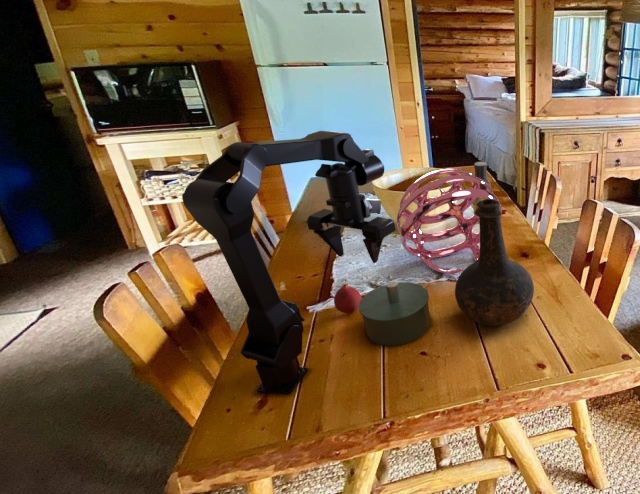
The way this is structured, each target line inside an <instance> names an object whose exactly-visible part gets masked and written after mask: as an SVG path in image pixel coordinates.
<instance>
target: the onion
mask: <svg viewBox="0 0 640 494" xmlns="http://www.w3.org/2000/svg"><path fill="white" fill-rule="evenodd" d="M362 298H363V296H362V295H361V292H360V291H359V290H358V289H357V288H355V287H353V286H349V283H347V282H345V283H343V284H342V285H341V287H340V288H339V289H338V290H337V291H336V292H335V294H334V297H333V304H334V306H335V309H336V310H338V311H339V312H340V313H343V314H350V315H351V314H354V313H355V312H356V311H357V310H359V303H360V301H361V299H362Z"/></svg>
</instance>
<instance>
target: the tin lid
mask: <svg viewBox="0 0 640 494" xmlns="http://www.w3.org/2000/svg"><path fill="white" fill-rule="evenodd" d="M429 300H430V292H429V291H428V289H427V288H426V287H425V286H423V285H421V284H419V283H415V282H409V281H399V282H397V281H396V280H395V281H394V280H393V281H388V282H386V284H383V285H381V286H378V287H376V288H374V289H372V290H370V291H369V292H367V293H366V294H365V295H364V296H362V299H361V301H360V303H359V308H358V311H359V313H360V315H361V316H362V318H363V317H365V318H366V319H369V320H372V321H376V322H392V321H398V320H402V319H405V318H408V317H411V316H413V315H415V314H416V313H418V312H419V311H421V310H422V309H423V308H424V307H425V306H426V305H427V303H428V304H429Z"/></svg>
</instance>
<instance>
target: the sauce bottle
mask: <svg viewBox="0 0 640 494" xmlns="http://www.w3.org/2000/svg"><path fill="white" fill-rule="evenodd" d="M487 165H488V163H487V162H485V161H476V162H474V164H473V168H474V176H475V177H477V178H480V179H482V180H483V181H485V182H486V183H487V184H488V185H489V186H490V187H491V188H492V186H491V184H492V183H491V181H490V180H489V178H488V173H487V168H488V166H487ZM479 184H480V183H479ZM480 189H482V190H486V191H487V189H486V187H485V186H484V185H482V184H480ZM485 199H486V198H478V197H477V198H476V200H475V201H474V202H473V203H472V207H473V210H472V211H473V216H474V215H475V210H476V209H477V208H478V202H479V201H481V200H485Z"/></svg>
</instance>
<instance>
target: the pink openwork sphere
mask: <svg viewBox="0 0 640 494" xmlns="http://www.w3.org/2000/svg"><path fill="white" fill-rule="evenodd" d="M442 175H448V176H445V177H441V178H438V179H435V180H433V181H430V182H428V183H426V184H424V185H422V186H420V185H421V184H422V183H423V182H425V181H428V180H429V179H432V178H435V177H438V176H442ZM463 182H470V183H471V188H462V187H463V186H462V185H463ZM479 183H480V184H482V185H484V186H485V187H486V189H487V191H486V190H482V189H480V184H479ZM450 184H452V185H451V186H450V188H449V189H448V190H444V189H443V188H441V187H442V186H445V185H450ZM419 186H420V187H419ZM437 188H438V190H439V192H440V194H439V195H437V196H433V197H428V194H429V192H431V191H433V190H434V189H437ZM408 195H409V196H408ZM477 197H478V198H486V199H494V200H497V201H499V202H500V212H501V213H502V214H503V208H502V207H503V206H502V204H501V201H500V200H499V198H498V197H497V195H496V194H494V191H493V189H492V186H491V187H490V186H489V185H488V184H487V183H486V182H485V181H483V180H482V179H480V178H477V177H475V174H473V173H471V172H469V171H467V170H464V169H458V168H445V169H438V170H437V169H436V170H433V171H430V172H428V173H426V174H423V175H422V176H421V177H419V178H418V179H416V180H415V182H413V183H412V184H411V185H409V186H408V188H407V189H406V190H405V191H404V193H403V194H402V197H401V199H400V201H399V209H398V210H397V213H396V228H397V230H398V232H399V238H400V242H401V244H402V248H404V250H405V251H406V252H408V253H409V254H410V255H412V256H415V257H417V258H420V259H421V260H422V261H423V262H424V263H425V264H426V265H427V266H428V267H429V268H431V269H432V270H433V271H435V272H438V273H440V274H444V275H454V274H459V273H462V272H463V271H464V268H457V269H452V270H446V269H443V268H440V267H438V266H437V265H436V264H435V263H433V261H432V260H431V259H433V258H434V259H435V258H441V257H447V256H451V255H454V254H457V253H460V252H462V251H465V250H467V249H469V250H470V251H471V253H472V255H473V259H474V262H475V261H476V260H478V259H479V253H480V231H479V232H478V233H474V230H473V228H474V227H475V226H476V225H477V224H479V216H477V215H474V214H473V215H472V216H470V217H469V218H466V217H465V215H464V212H465V211H466V210H467V209H468V208H469V207H471V206H472V205H473V202H474V201H475V200H476V198H477ZM459 200H462V201H461V202H459V203H455V202H456V201H459ZM412 203H414V204H416V205H417V206H416V209H414V211H413V212H412V211H410V210H409V209H408V208H409V207H410V206H411V204H412ZM446 204H448V209H447V210H445V211H442V212H439V213H434V214H429V213H430V212H432V211H434V210H436V209H438V208H440V207H442V206H444V205H446ZM402 217H403V218H404V220H405V221H404V222H403V224H402V223H401V219H402ZM501 218H502V215H501V216H500V219H501ZM451 219H455V220H456V221H457V225H455V226H454V227H451V228H448V229H445V230H442V231H438V232H431V233H423V232H422V230H421V229H422V228H421V227H422V226H423V225H433V224H438V223H442V222H445V221H448V220H451ZM412 228H413V230H412V231H411V229H412ZM459 235H464V237H465V239H464V241H462V242H460V243H457V244H454V245H452V246H449V247H444V248H439V249H433V250H431V249H426V247H425V246H424V244H425V243H434V242H439V241H443V240H447V239H451V238H453V237H456V236H459ZM407 240H409V241H411V242H413V243H414V245H415V248H413V247H412V246H409V245H408V244H407V243H406V241H407Z"/></svg>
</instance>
